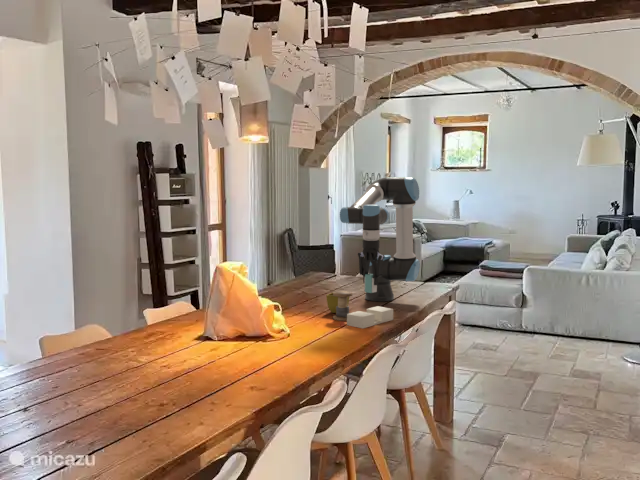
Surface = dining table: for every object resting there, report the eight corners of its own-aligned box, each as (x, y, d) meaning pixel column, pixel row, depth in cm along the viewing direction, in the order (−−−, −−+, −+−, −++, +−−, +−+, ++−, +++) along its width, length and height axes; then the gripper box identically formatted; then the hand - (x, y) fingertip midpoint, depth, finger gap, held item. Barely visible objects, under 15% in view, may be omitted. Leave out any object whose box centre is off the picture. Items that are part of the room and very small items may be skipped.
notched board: (377, 316, 293) (377, 306, 292) (393, 319, 287) (393, 308, 286) (346, 325, 277) (346, 314, 276) (362, 328, 271) (362, 317, 270)
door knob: (341, 315, 295) (341, 290, 294) (356, 318, 289) (356, 292, 288) (328, 318, 289) (328, 293, 287) (343, 321, 283) (343, 295, 281)
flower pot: (325, 313, 300) (325, 294, 299) (333, 309, 308) (333, 291, 307) (342, 315, 296) (342, 296, 295) (350, 311, 303) (350, 293, 302)
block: (370, 290, 282) (370, 273, 282) (376, 291, 280) (376, 274, 279) (365, 292, 280) (365, 274, 279) (371, 293, 278) (371, 275, 277)
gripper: (351, 238, 280) (351, 290, 283) (380, 241, 269) (380, 295, 272) (361, 237, 286) (361, 288, 288) (391, 240, 275) (390, 292, 277)
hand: (370, 291), depth 280 cm, fingers closed on block, 3 cm apart
